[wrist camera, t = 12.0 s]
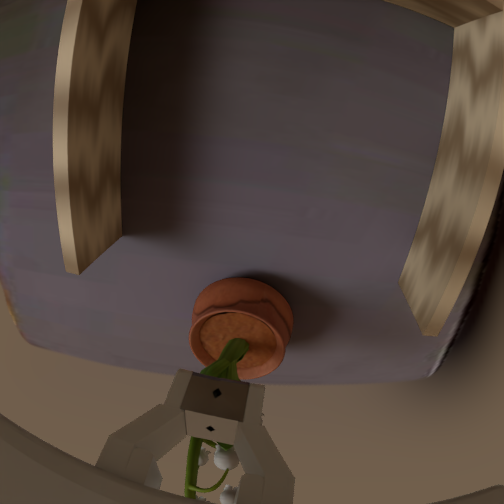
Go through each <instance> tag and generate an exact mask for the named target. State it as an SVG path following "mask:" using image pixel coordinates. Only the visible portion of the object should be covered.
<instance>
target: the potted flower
mask: <svg viewBox="0 0 504 504" xmlns="http://www.w3.org/2000/svg"><path fill="white" fill-rule="evenodd" d="M292 329H293V314H292V310H291V308H290V306H289V304H288V302H287V301H286V300H285V298H284V297H283V296H282V295H281V294H280V293H279V292H278V291H276V290H275V289H274V288H272V287H271V286H269V285H267V284H265V283H263V282H260V281H258V280H254V279H250V278H241V277H238V278H226V279H222V280H219V281H216V282H214V283H212V284H210V285H209V286H207V287H206V288H205V289H204V290H203V291H202V292H201V293H200V294H199V296H198V297H197V299H196V302H195V305H194V309H193V314H192V326H191V329H190V332H189V344H190V347H191V350H192V352H193V354H194V355H195V356H196V358H197V359H198V360H199V361H200V362H201V363H202V364H203V365H204V366H205V367H206V368H204V369H203V370H202V371H201V372H200V374H205V375H209V376H213V377H218V378H225V379H231V380H237V381H241V380H240V379H254V378H259V377H262V376H265V375H267V374H269V373H271V372H272V371H274V370H275V369H276V368H277V367H278V366H279V365H280V364H281V362H282V361H283V358H284V355H285V347H286V346H287V344H288V342H289V340H290V337H291V333H292ZM263 415H264V414H263V413H262V414H261V416H263ZM260 425H262V418H261V421H260ZM202 442H205V443H206V444H208V445H210V446H211V447H214V448H216V449H217V451H215V456H214V463H215V464H216V466H217V467H218V468H220V469H222V470H226V471H225V473H224V475H223V476H222V478H221V479H220V481H219V482H218V483H217V484H215V485H214V486H213V487H211V488H207V489H203V488H199V487H197V486H196V483H197V474H198V468H199V466H202V465H205V464H206V463H207V461H208V454H209V453H211V452H210V451H206V452H205V448H203V447H201V446H202ZM216 442H217V441H216ZM217 443H218V444H216V443H214V442H213V441H212V440H207V439H202V438H198V437H193V436H191V440H190V445H189V450H188V456H187V467H186V479H185V497H188V498H192V499H196V500H200V501H206V498H204V497H199V498H198V496H197V495H196V491H197V492H204V493H205V492H211V491H213V490H215V489H217V488H218V487H219V486H220V485H221V483H222V482H223V481H224V479H225V477H226V475H227V473H228V471H229V470H232V469H234V468H235V467H237V466H238V464H239V461H240V460H239V458H238V455H237V453H236V451H234V450H235V448H234V445H230V444H226V443H221V442H217ZM225 486H226V488H224V491H223V492H222V493H221V495H220V502H221V503H222V504H234V499H235V495H236V492H237V489H238V487H235V488H234V489H233V490H232V486H230V485H225ZM206 502H210V501H206ZM210 503H211V502H210Z"/></svg>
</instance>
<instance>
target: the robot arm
mask: <svg viewBox="0 0 504 504" xmlns="http://www.w3.org/2000/svg"><path fill="white" fill-rule="evenodd" d="M249 384H250V385H249ZM264 391H265V385H259V384H252V383H249V382H243V381H237V380H231V379H225V378H218V377H213V376H209V375H205V374H200V373H196V372H193V371H188V370H184V369H180V368H179V370H178V371H177V372H176V375H175V377H174V380H173V382H172V385H171V388H170V390H169V393H168V395H167V398H166V400H165V403H164V405H162V404H159V405H157V406H156V407H154V408H152V409H151V410H149V411H148V412H146V413H145V414H143V415H142V416H140V417H138V418H137V419H136V420H134V421H132V422H130V423H129V424H127V425H126V426H124V427H122V428H121V429H119V430H118V431H116V432H114V433H113V434H111V435H109V437H108V439H107V442H106V443H105V446H104V448H103V450H102V452H101V454H100V457H99V459H98V461H97V463H96V465H95V466H93V465H91V464H89V463H86V462H84V461H82V460H80V459H78V458H76V457H73V456H72V455H70V454H68V453H66V452H63V451H62V450H60V449H58V448H56V447H54V446H52V445H50V444H49V443H47V442H45V441H43V440H42V439H40V438H38V437H36V436H35V435H33V434H31V433H29V432H28V431H26V430H25V429H23V428H21V427H20V426H18V425H17V424H15V423H14V422H12V421H11V420H9V419H8V418H6V417H5V416H3V415H2V414H0V504H214V503H210V502H205V501H200V500H196V499H192V498H188V497H183V496H179V495H175V494H172V493H169V492H165V491H162V490H159V489H160V485H161V482H162V476H161V474H160V471H159V469H158V466H157V463H156V461H158V460H159V459H160V458H161V457H163V456H164V455H165V454H166V453H167V452H169V451H170V450H171V449H172V448H173V447H175V445H177V444H178V443H179V442H181V440H183V439H184V438H185V437H186V435H189V436H193V437H198V438H202V439H207V440H212V441H217V442H221V443H226V444H230V445H234V448H235V451H236V453H237V455H238V458H239V460H240V462H241V465H242V467H243V469H244V471H245V473H246V474H244V475H243V476H242V477H241V480H240V483H239V486H238V489H237V492H236V495H235V499H234V504H293V495H294V483H295V477H294V476H293V475H292V472H291V471H290V469H289V468H288V466H287V464H286V462H285V461H284V459H283V457H282V456H281V454H280V452H279V451H278V449H277V447H276V446H275V444H274V442H273V441H272V439H271V437H270V435H269V434H268V432H267V430H266V428H265V426H262V425H260V421H261V414H262V407H263V399H264ZM429 504H504V486H503V485H495V486H492V487H489V488H486V489H483V490H479V491H476V492H473V493H470V494H466V495H463V496H459V497H455V498H452V499H447V500H443V501H438V502H434V503H429Z"/></svg>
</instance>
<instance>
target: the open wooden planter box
mask: <svg viewBox="0 0 504 504" xmlns="http://www.w3.org/2000/svg"><path fill="white" fill-rule="evenodd" d="M383 1H386V2H389V3H392V4H396V5H399V6H401V7H404V8H407V9H410V10H413V11H415V12H418V13H421V14H423V15H426V16H428V17H431V18H433V19H435V20H438V21H440V22H442V23H445V24H447V25H449V26H451V27H453V28H454V43H453V56H452V67H451V76H450V85H449V92H448V99H447V106H446V112H445V118H444V124H443V129H442V134H441V139H440V144H439V149H438V153H437V158H436V162H435V166H434V171H433V175H432V179H431V183H430V186H429V190H428V194H427V197H426V201H425V204H424V208H423V211H422V215H421V218H420V221H419V224H418V228H417V231H416V234H415V237H414V240H413V243H412V246H411V249H410V252H409V254H408V257H407V260H406V263H405V265H404V268H403V271H402V274H401V276H400V279H399V281H398V284H399V286H400V288H401V290H402V292H403V294H404V296H405V298H406V300H407V302H408V304H409V306H410V308H411V310H412V312H413V315H414V317H415V319H416V321H417V323H418V326H419V328H420V330H421V332H422V335H426V336H438V334H439V333H440V331H441V329H442V327H443V325H444V323H445V321H446V320H447V318H448V316H449V314H450V312H451V310H452V308H453V306H454V304H455V302H456V300H457V298H458V295H459V293H460V291H461V289H462V287H463V285H464V283H465V280H466V278H467V276H468V273H469V271H470V269H471V266H472V264H473V262H474V259H475V257H476V254H477V252H478V249H479V246H480V244H481V241H482V238H483V236H484V233H485V230H486V227H487V224H488V221H489V218H490V215H491V212H492V209H493V206H494V202H495V199H496V196H497V192H498V188H499V185H500V181H501V177H502V173H503V169H504V0H383ZM136 5H137V0H68V2H67V6H66V11H65V16H64V21H63V26H62V32H61V38H60V44H59V51H58V59H57V68H56V78H55V90H54V108H53V165H54V183H55V196H56V207H57V216H58V224H59V232H60V239H61V246H62V252H63V258H64V264H65V269H66V272H70V273H74V274H77V275H80V274H81V273H82V272H83V271H84V270H85V269H86V268H87V267H88V266H89V265H90V264H92V263H93V262H94V261H95V260H96V259H97V258H98V257H99V256H100V255H101V254H102V253H104V252H105V251H106V250H107V249H108V248H109V247H110V246H111V245H112V244H114V243H115V242H116V241H117V240H118V239H119V238H120V237H122V220H121V132H122V114H123V100H124V88H125V78H126V69H127V61H128V53H129V46H130V39H131V32H132V26H133V21H134V15H135V10H136Z"/></svg>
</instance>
